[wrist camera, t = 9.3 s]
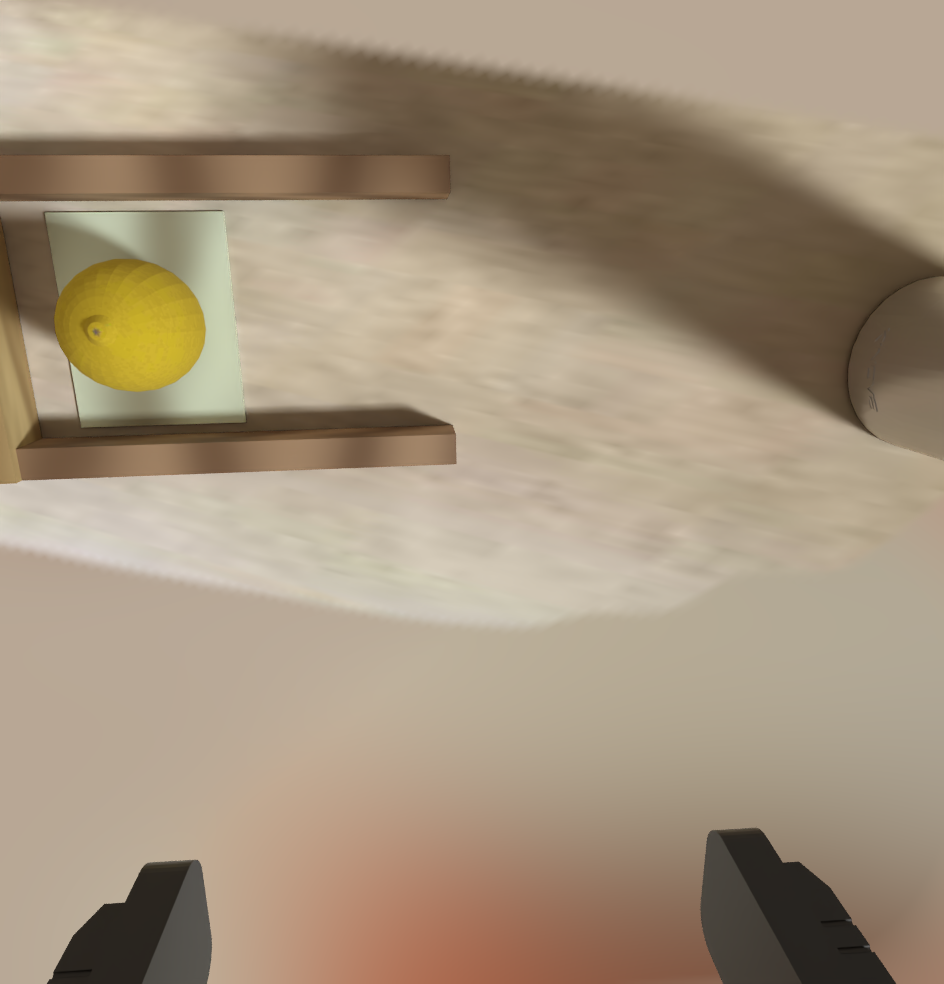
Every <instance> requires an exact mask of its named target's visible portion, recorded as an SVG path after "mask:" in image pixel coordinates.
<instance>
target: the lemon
mask: <svg viewBox="0 0 944 984" xmlns="http://www.w3.org/2000/svg"><path fill="white" fill-rule="evenodd" d="M54 323H55V333H56V336H57V339H58V342H59V344H60V347H61V349H62V350H63V352H64V354H65V355H66V357H67V358H68V360H69V361H70V362H71V363H72V364H73V365H74V366H75V367H76V368H77V369H78V370H79V371H80V372H81V373H82V374H84V375H85V376H87V377H88V378H90V379H92V380H93V381H95V382H97V383H99V384H102V385H104V386H107V387H110V388H113V389H116V390H124V391H133V392H142V391H149V390H156V389H160V388H162V387H165V386H167V385H170V384H172V383H175V382H176V381H178V380H179V379H180V378H181V377H183V376H184V375H185V374H187V373H188V372H189V371H190V370H191V368H192V367H193V366H194V364H195V363H196V362H197V360H198V359H199V357H200V355H201V352H202V349H203V347H204V344H205V334H206V326H205V320H204V314H203V311H202V309H201V307H200V304H199V302H198V299H197V298H196V296H195V295H194V294H193V292H192V291H191V290H190V288H189V287H188V286H187V285H186V284H185V283H184V282H183V281H182V280H180V279H179V278H178V277H177V276H176V275H175V274H173V273H172V272H170V271H168V270H166V269H164V268H162V267H160V266H159V265H157V264H154V263H150V262H146V261H142V260H138V259H112V260H108V261H104V262H100V263H96V264H94V265H91V266H90V267H88V268H86V269H85V270H83V271H81V272H80V273H78V274H76V275H75V276H74V277H73V279H72V280H71V281H70V282H69V283H68V284H67V285H66V286H65V287H64V288H63V290H62V292H61V295H60V297H59V299H58V301H57V304H56V310H55V315H54Z"/></svg>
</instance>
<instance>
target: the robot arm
mask: <svg viewBox="0 0 944 984" xmlns="http://www.w3.org/2000/svg"><path fill="white" fill-rule="evenodd" d="M848 388H849V394H850V399H851V403H852V405H853V407H854V410H855V412H856V414H857V417H858V418H859V419H860V421H861V422H862V423H863V425H864V426H865V427H866V428H867V429H868V430H869V431H870V432H871V433H873V434H874V435H875V436H876V437H878V438H879V439H881V440H884V441H886V442H888V443H890V444H893V445H896V446H899V447H902V448H905V449H909V450H912V451H915V452H918V453H921V454H925V455H928V456H931V457H934V458H937V459H940V460H943V461H944V276H937V277H931V278H927V279H923V280H918V281H916V282H914V283H912V284H909V285H907V286H905V287H903V288H901V289H899V290H898V291H897V292H895V293H894V294H892V295H891V296H890V297H888V298H887V299H886V300H884V301H883V303H882V304H881V305H880V306H879V307H878V308H877V309H876V310H875V311H874V312H873V313H872V314H871V315H870V317H869V318H868V320H867V321H866V323H865V324H864V326H863V327H862V329H861V330H860V333H859V335H858V337H857V340H856V342H855V344H854V347H853V349H852V354H851V358H850V362H849V367H848ZM701 921H702V927H703V932H704V936H705V940H706V944H707V947H708V950H709V952H710V955H711V957H712V959H713V962H714V964H715V966H716V969H717V970H718V973H719V975H720V978H721V980H722V982H723V984H896V983H895V981H894V980H893V979H892V977H891V976H890V974H889V973H888V971H887V970H886V968H885V967H884V965H883V964H882V962H881V961H880V960H879V958H878V957H877V955H876V954H875V952H871V950H870V945H869V944H868V942H867V941H866V939H865V938H864V936H863V935H862V933H861V932H860V931H859V929H858V928H857V926H856V925H855V926H854V925H853V924H852V919H851V917H850V916H849V915H848V913H847V912H846V910H845V909H844V907H843V906H842V904H841V903H840V902H839V900H838V899H837V897H836V896H835V894H834V893H833V891H832V890H831V888H830V887H829V886H827V885H826V884H825V883H824V882H823V881H821V880H820V879H819V878H818V877H817V876H815V875H814V874H813V873H812V872H810V871H809V870H808V869H807V868H806V867H805V866H803V865H802V864H801V863H800V862H787V863H783V862H782V861H781V859H780V858H779V856H778V854H777V853H776V851H775V850H774V848H773V847H772V845H771V844H770V842H769V840H768V839H767V837H766V836H765V835H764V833H763V832H762V831H761V830H760V829H758V828H745V829H729V830H713V831H710V833H709V834H708V838H707V844H706V855H705V865H704V875H703V886H702V897H701ZM211 940H212V938H211V930H210V923H209V916H208V909H207V902H206V895H205V887H204V880H203V873H202V867H201V864H200V862H199V861H198V860H185V861H169V862H153V863H147V864H146V865H145V866H144V867H143V868H142V869H141V871H140V873H139V875H138V877H137V879H136V881H135V883H134V885H133V887H132V889H131V891H130V893H129V895H128V897H127V900H126V902H125V903H113V904H104V905H103V906H102V907H101V908H100V909H99V910H98V911H97V912H96V913H95V914H94V915H93V916H92V917H91V918H90V919H89V920H88V921H87V922H86V923H85V924H84V925H83V927H81V928H80V929H79V930H78V931H77V932H76V934H74V935H73V937H72V939H71V941H70V942H69V944H68V946H67V948H66V950H65V952H64V954H63V955H62V957H61V959H60V961H59V963H58V965H57V966H56V969H55V970H54V972H53V973H54V975H53V978H52V979H50V980H49V981H48V983H47V984H207V980H208V976H209V969H210V963H211V952H212V941H211Z"/></svg>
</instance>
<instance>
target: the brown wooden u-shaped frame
mask: <svg viewBox="0 0 944 984" xmlns="http://www.w3.org/2000/svg"><path fill="white" fill-rule="evenodd" d="M449 194H450V155H0V201H146V200H349V199H447V198H448V196H449ZM44 213H45V219H46V225H47V231H48V236H49V242H50V248H51V254H52V260H53V266H54V271H55V277H56V283H57V289H58V295H59V297H60V295H61V292H62V290H63V288H64V287H65V286H66V285H67V284H68V283H69V282H70V281H71V280H72V279H73V277H74V276H75V275H76V274H78V273H80V272H81V271H83V270H85V269H86V268H88V267H90V266H91V265H94V264H96V263H100V262H104V261H108V260H112V259H138V260H142V261H146V262H150V263H154V264H157V265H159V266H160V267H162V268H164V269H166V270H168V271H170V272H172V273H173V274H175V275H176V276H177V277H178V278H179V279H180V280H182V281H183V282H184V283H185V284H186V285H187V286H188V287H189V288H190V290H191V291H192V292H193V294H194V295H195V296H196V298H197V299H198V302H199V304H200V307H201V309H202V311H203V314H204V320H205V326H206V334H205V344H204V347H203V349H202V352H201V355H200V357H199V359H198V360H197V362H196V363H195V364H194V366H193V367H192V368H191V370H190V371H189V372H188V373H187V374H185V375H184V376H183V377H181V378H180V379H179V380H178V381H176V382H175V383H172V384H170V385H167V386H165V387H162V388H160V389H156V390H149V391H142V392H133V391H124V390H116V389H113V388H110V387H107V386H104V385H102V384H99V383H97V382H95V381H93V380H92V379H90V378H88V377H87V376H85V375H84V374H82V373H81V372H80V371H79V370H78V369H77V368H76V367H75V366H74V365H73V364H72V363H71V362H70V365H71V370H72V376H73V382H74V388H75V394H76V400H77V405H78V411H79V417H80V423H81V428H84V427H116V426H147V425H179V424H210V423H242V422H246V415H245V406H244V397H243V387H242V378H241V368H240V359H239V349H238V340H237V330H236V321H235V311H234V302H233V292H232V283H231V273H230V264H229V254H228V245H227V236H226V226H225V217H224V211H199V212H44ZM444 464H456V434H455V431H454V428H453V426H452V425H436V426H405V427H375V428H344V429H314V430H283V431H253V432H223V433H192V434H162V435H131V436H101V437H70V438H42V436H41V430H40V425H39V420H38V414H37V409H36V404H35V398H34V393H33V388H32V383H31V377H30V372H29V367H28V361H27V356H26V351H25V345H24V340H23V335H22V329H21V324H20V319H19V313H18V308H17V303H16V297H15V292H14V287H13V282H12V276H11V271H10V266H9V260H8V255H7V250H6V244H5V239H4V234H3V228H2V223H1V218H0V484H9V483H18V482H20V481H22V480H47V479H73V478H100V477H126V476H153V475H179V474H206V473H232V472H259V471H285V470H312V469H338V468H365V467H391V466H418V465H444Z"/></svg>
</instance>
